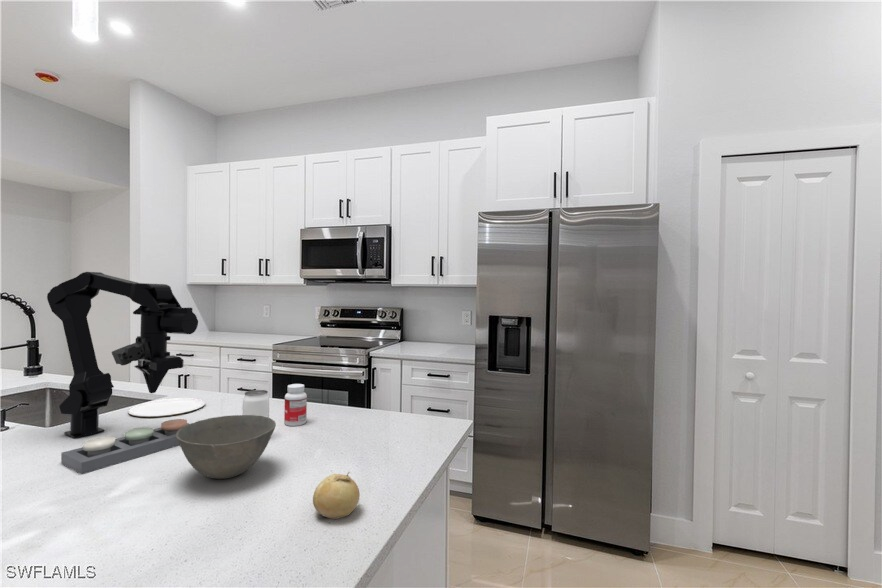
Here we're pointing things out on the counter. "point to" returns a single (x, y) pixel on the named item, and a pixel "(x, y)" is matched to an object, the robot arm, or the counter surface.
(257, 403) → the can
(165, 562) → the counter surface
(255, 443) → the bowl
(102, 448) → the ivory button
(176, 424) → the terracotta button
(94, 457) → the panel
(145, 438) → the sage button
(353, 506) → the onion
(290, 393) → the pill bottle
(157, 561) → the counter surface
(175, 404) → the plate
